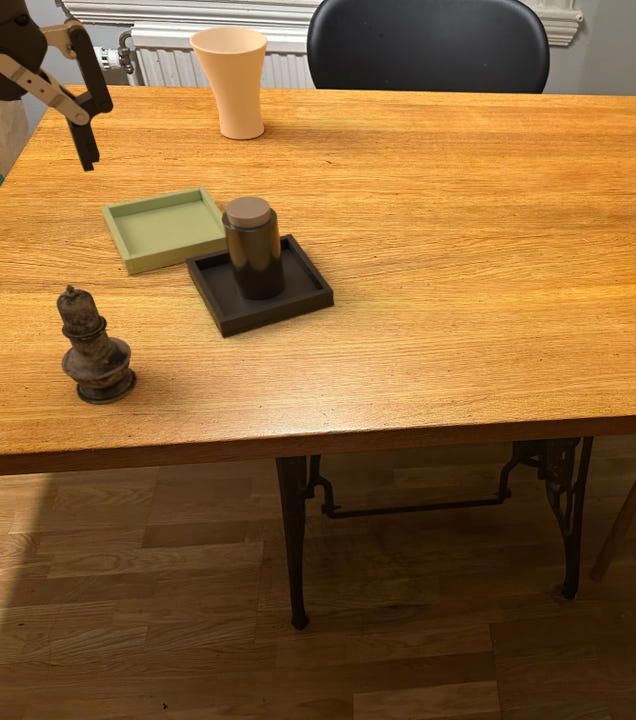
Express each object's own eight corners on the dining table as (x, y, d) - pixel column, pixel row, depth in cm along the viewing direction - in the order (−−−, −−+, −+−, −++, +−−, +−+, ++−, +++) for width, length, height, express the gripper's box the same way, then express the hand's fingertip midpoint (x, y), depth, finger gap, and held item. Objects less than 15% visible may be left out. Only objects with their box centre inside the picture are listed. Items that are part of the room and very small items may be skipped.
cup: (210, 115, 110) (194, 25, 101) (278, 116, 112) (269, 27, 103) (203, 146, 103) (184, 52, 94) (276, 146, 105) (265, 54, 96)
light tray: (128, 275, 80) (124, 260, 78) (104, 220, 87) (100, 206, 85) (238, 249, 85) (235, 234, 84) (207, 199, 92) (204, 185, 91)
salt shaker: (71, 371, 68) (28, 271, 60) (136, 357, 70) (104, 259, 62) (74, 413, 64) (29, 312, 56) (143, 397, 66) (109, 298, 58)
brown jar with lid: (244, 305, 77) (229, 226, 70) (227, 278, 80) (212, 199, 73) (292, 292, 79) (283, 214, 72) (275, 265, 82) (264, 188, 75)
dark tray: (223, 338, 73) (219, 322, 72) (188, 273, 81) (185, 258, 79) (334, 305, 79) (333, 290, 78) (292, 247, 86) (291, 233, 85)
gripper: (-233, -47, 36) (-86, 224, 47) (72, -60, 42) (138, 182, 53) (-225, -83, 40) (-91, 173, 51) (50, -90, 46) (116, 139, 57)
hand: (25, 177), depth 52 cm, fingers open, 8 cm apart
